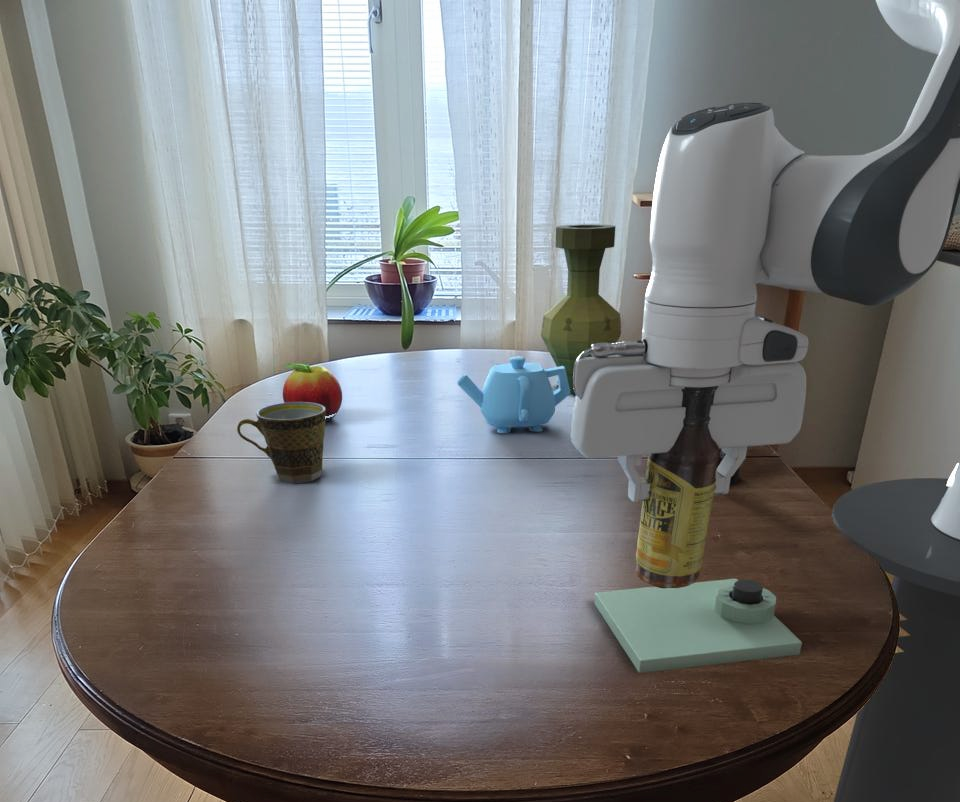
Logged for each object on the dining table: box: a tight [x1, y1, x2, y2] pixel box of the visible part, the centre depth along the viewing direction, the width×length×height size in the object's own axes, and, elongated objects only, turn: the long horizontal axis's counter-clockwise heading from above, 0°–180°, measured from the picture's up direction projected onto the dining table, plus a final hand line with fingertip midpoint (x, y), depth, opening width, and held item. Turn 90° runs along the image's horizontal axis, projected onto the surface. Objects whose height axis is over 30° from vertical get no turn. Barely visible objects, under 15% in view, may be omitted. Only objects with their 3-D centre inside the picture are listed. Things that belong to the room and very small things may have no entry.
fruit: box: [282, 362, 343, 423], centre depth 149 cm, size 11×11×10 cm
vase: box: [540, 223, 622, 395], centre depth 161 cm, size 16×16×30 cm
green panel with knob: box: [593, 578, 803, 674], centre depth 81 cm, size 16×14×3 cm
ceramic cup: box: [236, 402, 326, 484], centre depth 121 cm, size 13×10×10 cm
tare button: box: [732, 579, 764, 605], centre depth 81 cm, size 3×3×2 cm
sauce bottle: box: [635, 386, 719, 589], centre depth 74 cm, size 6×6×20 cm
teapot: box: [456, 356, 571, 434], centre depth 143 cm, size 20×17×12 cm
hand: (678, 496), depth 75 cm, fingers closed on sauce bottle, 6 cm apart
